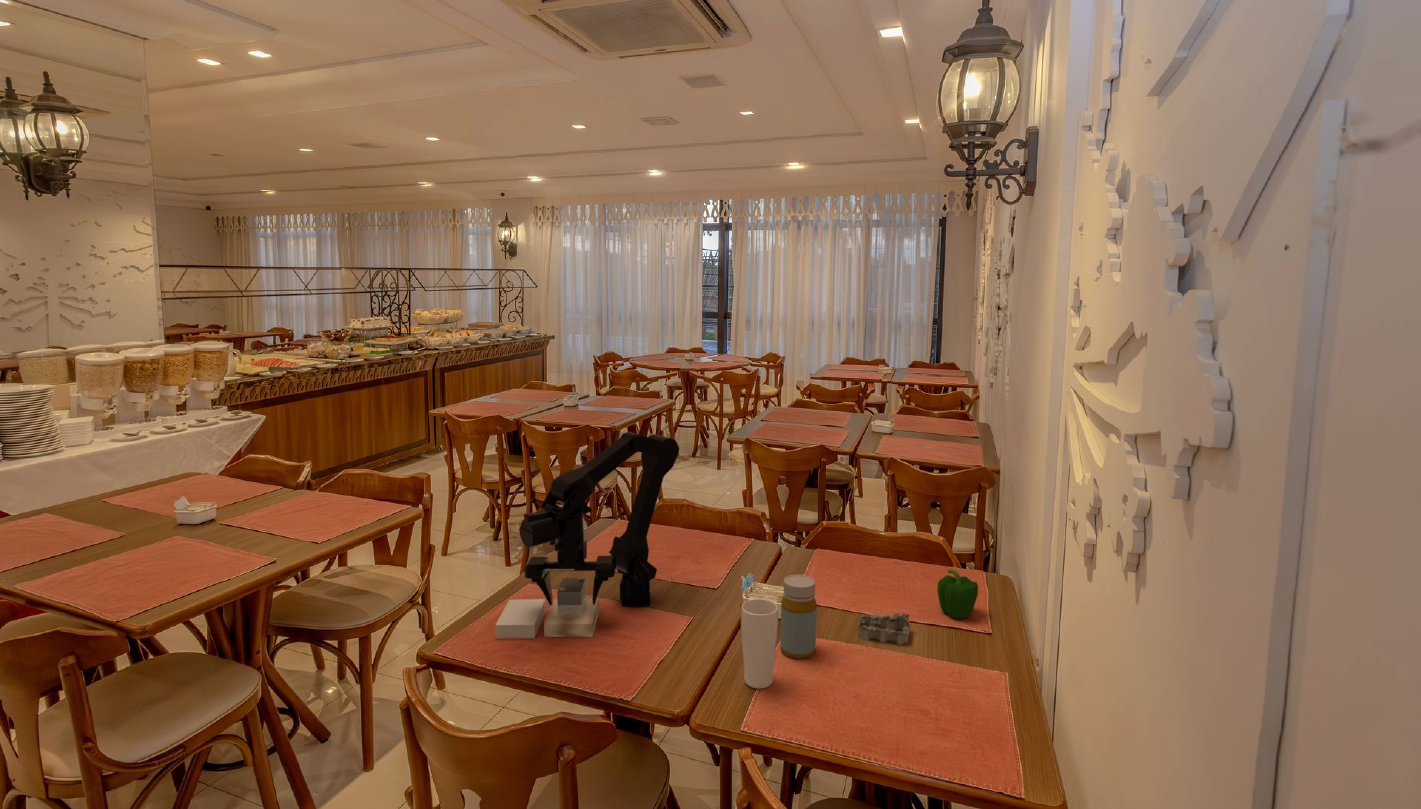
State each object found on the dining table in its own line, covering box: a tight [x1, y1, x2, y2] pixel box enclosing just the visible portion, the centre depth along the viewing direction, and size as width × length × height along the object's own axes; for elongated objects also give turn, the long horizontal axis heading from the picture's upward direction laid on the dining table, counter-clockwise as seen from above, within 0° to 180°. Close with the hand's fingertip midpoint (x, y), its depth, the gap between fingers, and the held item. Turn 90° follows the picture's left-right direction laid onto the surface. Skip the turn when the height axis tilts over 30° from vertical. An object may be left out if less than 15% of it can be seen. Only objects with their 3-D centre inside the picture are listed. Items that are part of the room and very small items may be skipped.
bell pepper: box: [937, 568, 979, 620], centre depth 160 cm, size 8×8×10 cm
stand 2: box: [543, 597, 600, 639], centre depth 156 cm, size 10×12×3 cm
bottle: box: [780, 574, 818, 660], centre depth 144 cm, size 7×7×15 cm
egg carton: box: [857, 613, 911, 646], centre depth 152 cm, size 11×8×4 cm
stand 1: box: [495, 598, 547, 640], centre depth 156 cm, size 8×12×3 cm, turn 2°
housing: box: [556, 577, 587, 619], centre depth 155 cm, size 5×7×6 cm
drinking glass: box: [740, 598, 779, 689], centre depth 133 cm, size 7×7×15 cm
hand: (572, 604), depth 156 cm, fingers open, 9 cm apart
